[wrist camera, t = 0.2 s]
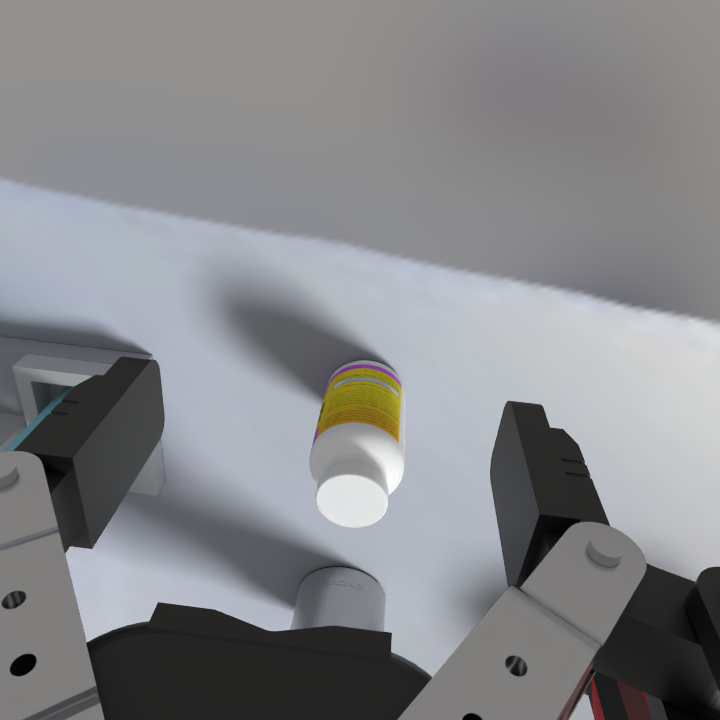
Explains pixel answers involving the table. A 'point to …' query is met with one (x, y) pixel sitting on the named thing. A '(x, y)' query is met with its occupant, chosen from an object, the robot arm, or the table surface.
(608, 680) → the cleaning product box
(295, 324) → the table surface
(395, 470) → the supplement bottle
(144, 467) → the housing
